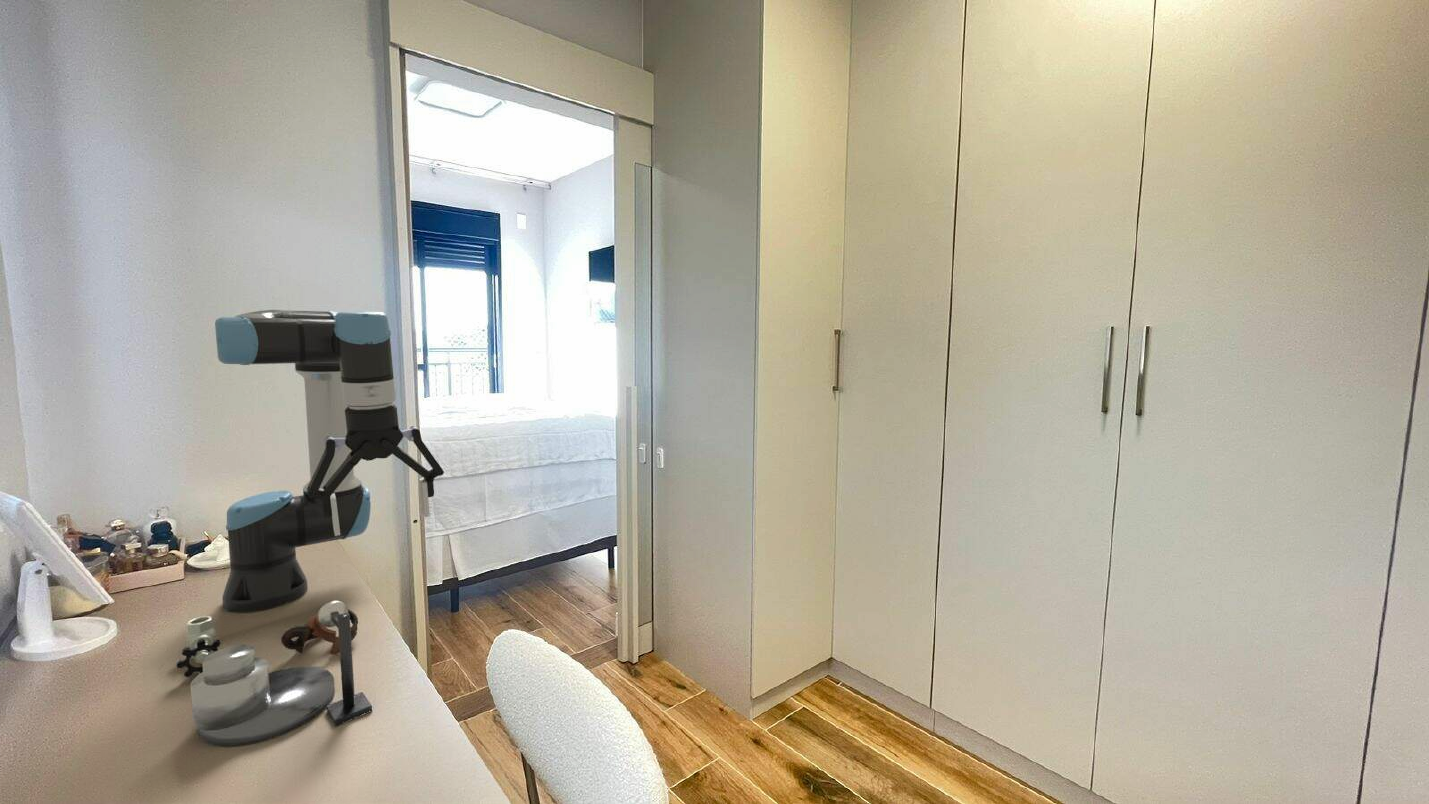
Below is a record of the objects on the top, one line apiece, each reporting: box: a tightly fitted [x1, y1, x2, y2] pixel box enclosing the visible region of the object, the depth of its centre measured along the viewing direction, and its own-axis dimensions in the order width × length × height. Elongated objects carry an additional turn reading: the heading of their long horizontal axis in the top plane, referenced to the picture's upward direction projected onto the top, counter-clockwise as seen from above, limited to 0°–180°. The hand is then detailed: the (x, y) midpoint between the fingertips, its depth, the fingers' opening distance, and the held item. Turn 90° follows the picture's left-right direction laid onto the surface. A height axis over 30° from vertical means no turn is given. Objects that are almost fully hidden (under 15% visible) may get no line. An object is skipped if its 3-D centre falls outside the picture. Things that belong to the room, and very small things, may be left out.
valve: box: [175, 615, 224, 678], centre depth 103 cm, size 7×7×12 cm
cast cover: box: [189, 644, 271, 730], centre depth 87 cm, size 9×9×9 cm
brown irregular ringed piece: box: [280, 609, 359, 655], centre depth 108 cm, size 12×10×8 cm
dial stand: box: [317, 599, 373, 727], centre depth 91 cm, size 10×5×16 cm, turn 47°
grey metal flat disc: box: [198, 666, 336, 748], centre depth 91 cm, size 17×17×2 cm
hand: (383, 523), depth 100 cm, fingers open, 13 cm apart
